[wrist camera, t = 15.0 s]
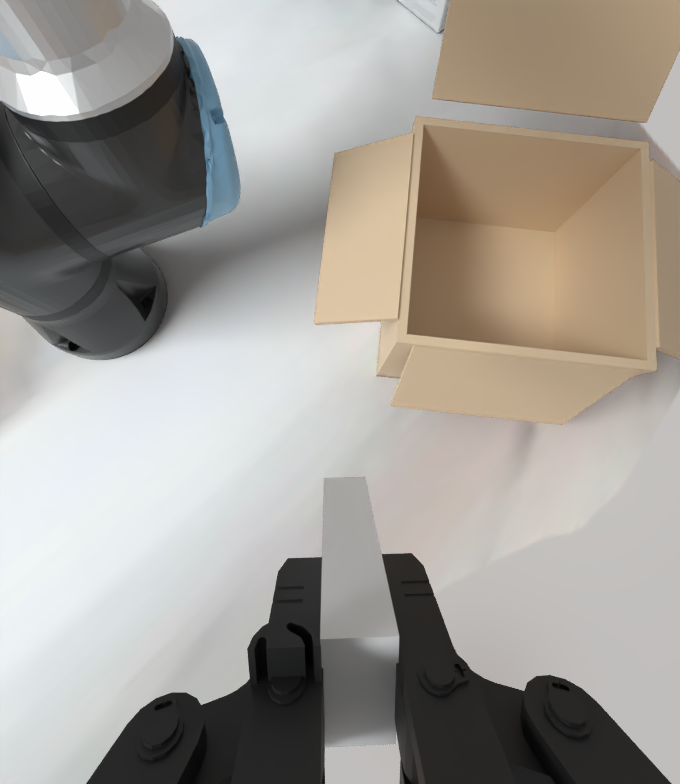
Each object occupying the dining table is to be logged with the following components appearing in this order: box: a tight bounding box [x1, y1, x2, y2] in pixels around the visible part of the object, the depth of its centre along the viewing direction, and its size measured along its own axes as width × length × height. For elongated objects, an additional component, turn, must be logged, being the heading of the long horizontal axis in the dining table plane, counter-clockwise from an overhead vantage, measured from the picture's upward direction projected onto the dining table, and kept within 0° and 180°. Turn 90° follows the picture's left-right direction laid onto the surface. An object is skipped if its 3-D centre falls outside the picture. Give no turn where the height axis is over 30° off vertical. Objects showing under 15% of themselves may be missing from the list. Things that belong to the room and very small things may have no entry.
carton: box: [314, 116, 680, 425], centre depth 39 cm, size 26×37×14 cm
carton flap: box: [432, 0, 680, 123], centre depth 30 cm, size 1×20×10 cm
